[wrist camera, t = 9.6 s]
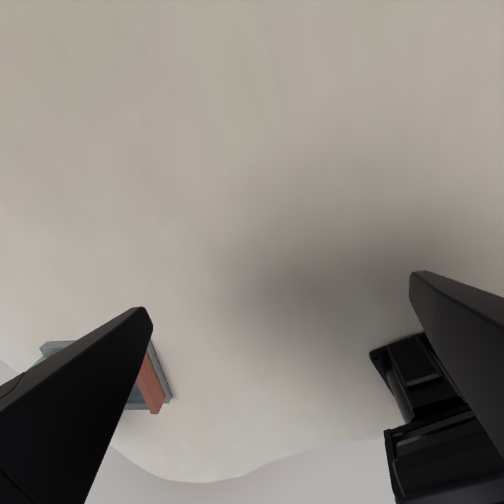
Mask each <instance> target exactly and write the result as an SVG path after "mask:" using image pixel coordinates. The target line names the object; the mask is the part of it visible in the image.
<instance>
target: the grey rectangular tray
mask: <svg viewBox="0 0 504 504" xmlns="http://www.w3.org/2000/svg"><path fill="white" fill-rule="evenodd" d="M74 342H75V341H57V342H46V343H45V344H44V345H42V346H41V347H40V348H39V349H40V350H41V352H42V354H43V355H44V356H42V357H41V358H40V359H39V360H38V361H37V362H36V363H35V364H34V365H33V366H35V365H37V364H38V363H40V362H42V361H43V360H45V359H47V358H48V357H50V356H52V355H53V354H55V353H57V352H58V351H60V350H62V349H63V348H65V347H67V346H69V345H70V344H72V343H74ZM33 366H32V367H33ZM32 367H30V368H32ZM30 368H29V369H30ZM171 397H172V394H171V392H170V389H169V387H168V384H167V381H166V379H165V376H164V374H163V371H162V369H161V366H160V364H159V361H158V359H157V356H156V354H155V351H154V349H153V346H152V344H151V341H149V345H148V348H147V351H146V354H145V357H144V361H143V364H142V367H141V369H140V372H139V375H138V377H137V379H136V382H135V384H134V387H133V389H132V391H131V394H130V396H129V398H128V401H127V403H126V406H125V408H124V410H150V413H151V414H158V413H159V411H160V408H161V406H162V404H163V403H169V402H170V399H171Z"/></svg>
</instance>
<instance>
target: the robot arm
mask: <svg viewBox="0 0 504 504" xmlns="http://www.w3.org/2000/svg"><path fill="white" fill-rule="evenodd" d="M409 299H410V302H411V304H412V306H413V308H414V310H415V312H416V315H417V317H418V319H419V321H420V323H421V325H422V327H423V329H424V331H425V333H422V334H419V335H416V336H413V337H411V338H408V339H405V340H402V341H400V342H397V343H394V344H391V345H389V346H386V347H383V348H380V349H377V350H375V351H372V352H370V354H369V357H370V359H371V361H372V363H373V364H374V366H375V367H376V369H377V370H378V372H379V374H380V375H381V377H382V378H383V380H384V381H385V383H386V384H387V386H388V387H389V389H390V391H391V392H392V394H393V395H394V397H395V399H396V402H397V404H398V406H399V409H400V411H401V414H402V416H403V419H404V421H405V423H406V424H405V425H402V426H399V427H396V428H394V429H387V430H384V438H385V448H386V453H387V460H388V466H389V472H390V479H391V484H392V490H393V493H394V495H395V502H396V504H504V298H503V297H500V296H497V295H495V294H492V293H489V292H486V291H483V290H480V289H478V288H475V287H472V286H469V285H466V284H463V283H460V282H458V281H455V280H452V279H449V278H446V277H443V276H440V275H438V274H435V273H432V272H429V271H417V272H412V273H411V274H410V280H409ZM152 332H153V324H152V321H151V319H150V317H149V315H148V313H147V311H146V309H145V308H144V307H142V306H141V307H133V308H131V309H129V310H127V311H126V312H124V313H122V314H121V315H119V316H117V317H115V318H114V319H112V320H110V321H109V322H107V323H105V324H104V325H102V326H100V327H99V328H97V329H95V330H94V331H92V332H90V333H89V334H87V335H85V336H84V337H82V338H80V339H79V340H77V341H75V342H74V343H72V344H70V345H69V346H67V347H65V348H63V349H62V350H60V351H58V352H57V353H55V354H53V355H52V356H50V357H48V358H47V359H45V360H43V361H42V362H40V363H38V364H37V365H35V366H33V367H32V368H30V369H28V370H27V371H26V372H23V373H21V374H20V375H18V376H16V377H15V378H13V379H11V380H10V381H8V382H6V383H5V384H3V385H1V386H0V504H84V503H85V500H86V498H87V496H88V493H89V491H90V489H91V486H92V484H93V482H94V479H95V477H96V474H97V472H98V469H99V467H100V465H101V463H102V460H103V458H104V455H105V453H106V451H107V448H108V446H109V444H110V441H111V439H112V436H113V434H114V432H115V429H116V427H117V425H118V422H119V420H120V417H121V415H122V413H123V410H124V408H125V406H126V403H127V401H128V398H129V396H130V394H131V391H132V389H133V387H134V384H135V382H136V379H137V377H138V375H139V372H140V369H141V367H142V364H143V361H144V357H145V354H146V351H147V348H148V345H149V341H150V338H151V335H152ZM374 356H376V357H374Z"/></svg>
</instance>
